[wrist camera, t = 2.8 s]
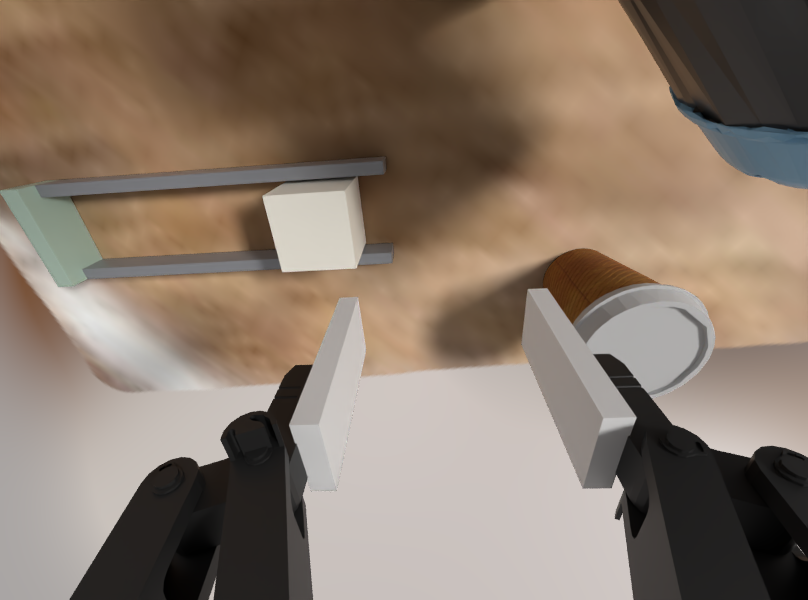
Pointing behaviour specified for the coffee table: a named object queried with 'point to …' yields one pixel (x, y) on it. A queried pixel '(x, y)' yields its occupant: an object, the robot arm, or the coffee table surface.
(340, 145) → the coffee table surface
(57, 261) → the chute
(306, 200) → the block
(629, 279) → the disposable coffee cup
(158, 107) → the coffee table surface
